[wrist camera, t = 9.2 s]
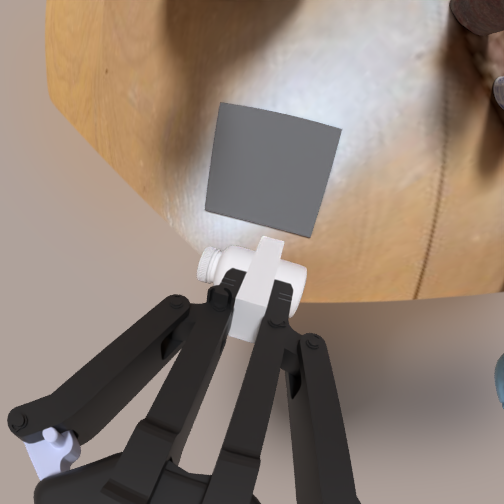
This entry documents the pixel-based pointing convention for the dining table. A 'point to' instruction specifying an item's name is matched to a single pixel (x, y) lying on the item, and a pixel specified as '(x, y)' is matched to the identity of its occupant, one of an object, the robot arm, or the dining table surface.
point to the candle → (480, 15)
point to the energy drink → (499, 91)
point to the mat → (270, 167)
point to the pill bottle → (240, 258)
